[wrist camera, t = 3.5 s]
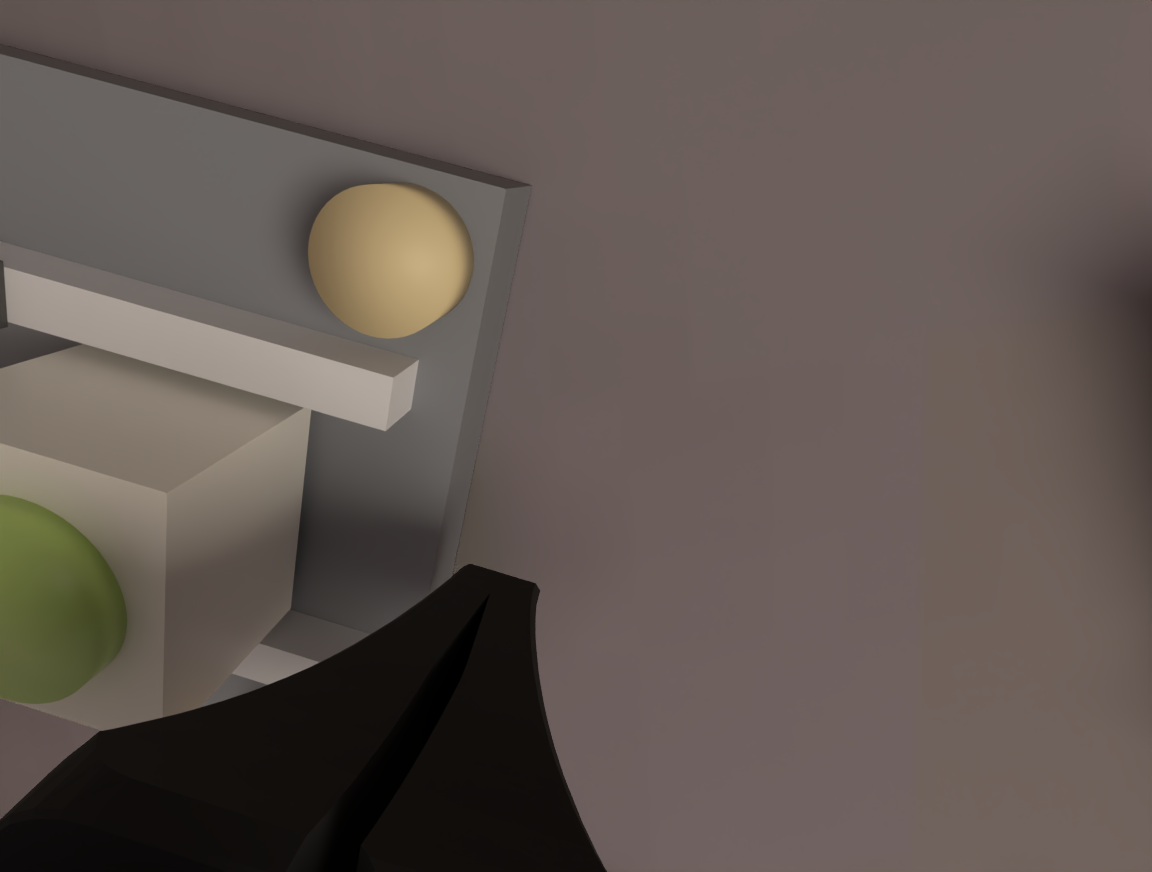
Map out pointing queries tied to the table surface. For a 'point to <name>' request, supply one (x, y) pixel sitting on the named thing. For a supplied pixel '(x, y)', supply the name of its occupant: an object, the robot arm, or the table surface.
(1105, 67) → the table surface
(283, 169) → the levelling base
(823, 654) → the table surface
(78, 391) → the block
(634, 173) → the table surface
